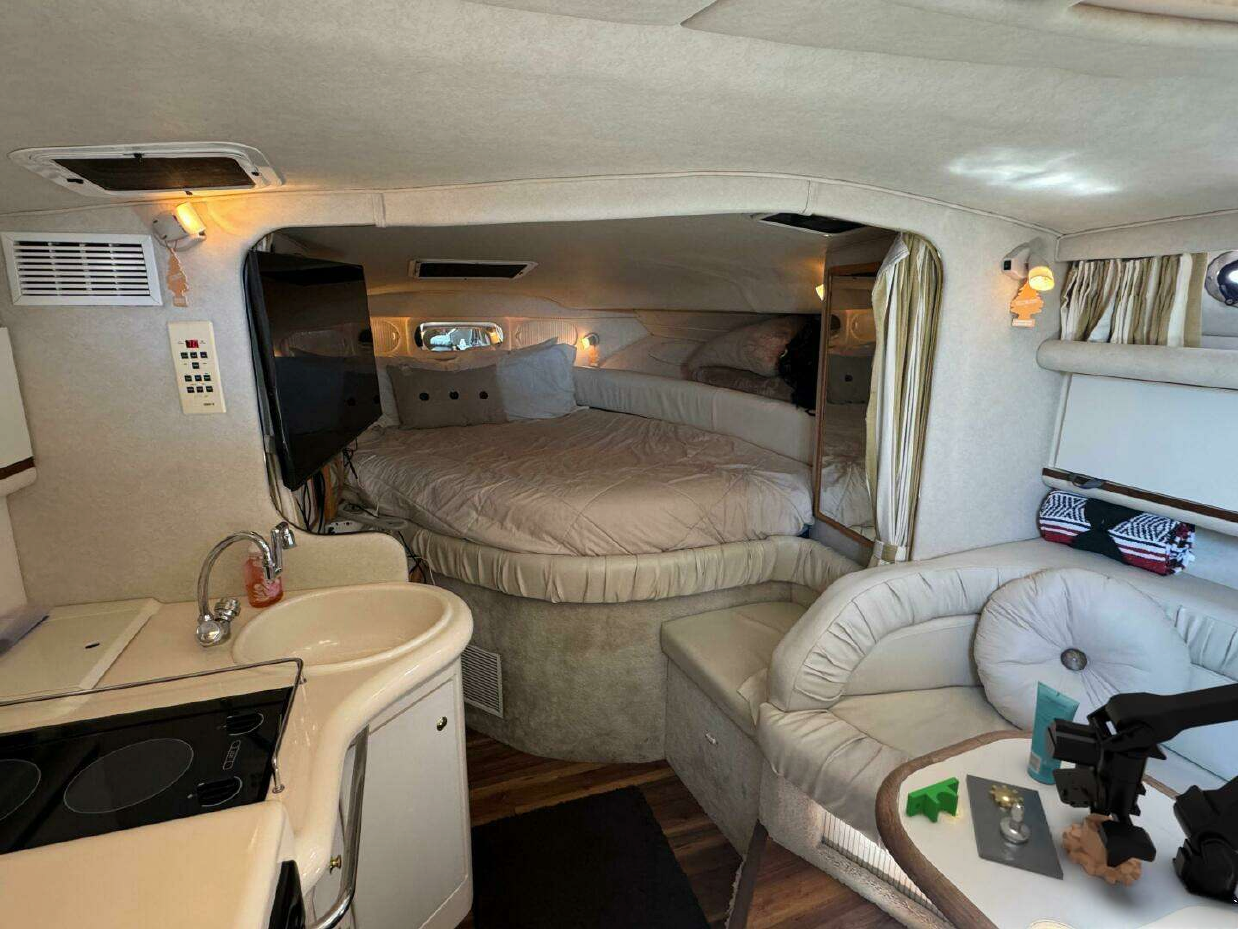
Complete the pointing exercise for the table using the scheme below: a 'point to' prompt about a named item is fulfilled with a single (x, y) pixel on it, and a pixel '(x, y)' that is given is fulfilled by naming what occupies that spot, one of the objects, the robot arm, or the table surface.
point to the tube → (1046, 710)
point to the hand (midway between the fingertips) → (1102, 846)
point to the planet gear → (1097, 851)
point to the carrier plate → (1001, 846)
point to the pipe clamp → (934, 799)
